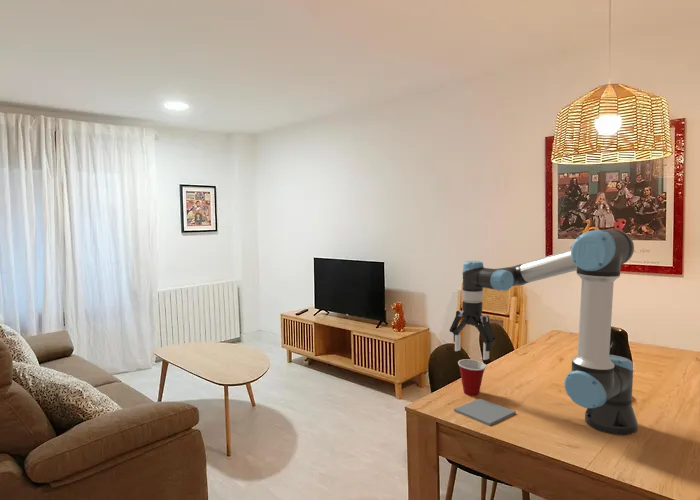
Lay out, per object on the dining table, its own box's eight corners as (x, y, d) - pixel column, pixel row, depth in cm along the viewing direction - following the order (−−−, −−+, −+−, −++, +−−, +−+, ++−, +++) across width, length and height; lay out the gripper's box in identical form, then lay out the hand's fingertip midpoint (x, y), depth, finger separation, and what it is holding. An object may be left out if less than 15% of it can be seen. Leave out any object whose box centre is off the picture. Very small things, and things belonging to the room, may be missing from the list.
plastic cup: (478, 400, 174) (478, 369, 173) (452, 393, 181) (452, 363, 180) (490, 392, 182) (491, 362, 181) (465, 385, 189) (465, 357, 188)
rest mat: (515, 413, 162) (515, 411, 162) (489, 425, 153) (489, 423, 153) (480, 400, 174) (480, 398, 174) (453, 411, 165) (453, 408, 165)
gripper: (506, 304, 171) (505, 360, 173) (453, 295, 191) (452, 345, 193) (494, 307, 166) (492, 365, 168) (441, 297, 186) (440, 348, 188)
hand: (471, 354), depth 180 cm, fingers open, 13 cm apart
